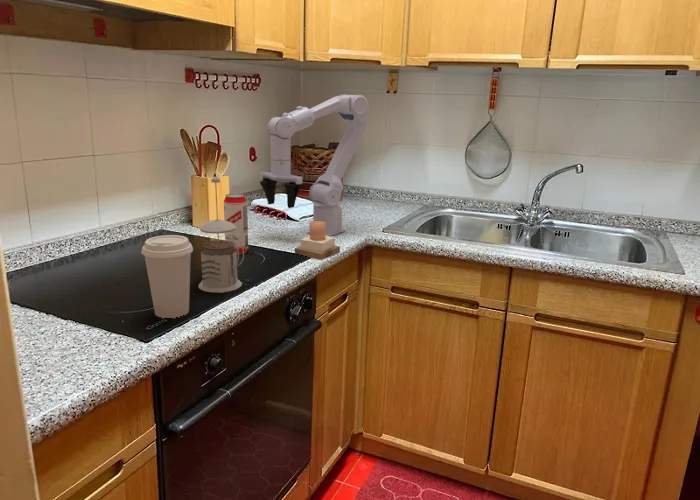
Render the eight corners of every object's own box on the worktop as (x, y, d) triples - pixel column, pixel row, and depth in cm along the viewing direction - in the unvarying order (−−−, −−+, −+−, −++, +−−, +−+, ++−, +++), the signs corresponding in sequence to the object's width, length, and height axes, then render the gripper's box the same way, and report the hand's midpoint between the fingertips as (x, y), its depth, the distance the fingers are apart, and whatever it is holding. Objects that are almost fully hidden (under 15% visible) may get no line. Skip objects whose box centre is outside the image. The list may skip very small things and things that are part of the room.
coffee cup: (136, 316, 105) (129, 242, 101) (170, 300, 114) (165, 231, 109) (174, 325, 102) (168, 250, 97) (206, 308, 110) (202, 237, 106)
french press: (219, 275, 130) (215, 172, 123) (256, 284, 124) (254, 177, 117) (188, 286, 122) (182, 177, 114) (227, 297, 116) (222, 182, 109)
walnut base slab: (313, 249, 156) (313, 241, 155) (339, 255, 151) (339, 246, 150) (294, 256, 148) (294, 248, 148) (321, 262, 144) (321, 254, 143)
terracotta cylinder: (315, 235, 151) (315, 220, 150) (328, 237, 149) (328, 222, 148) (306, 239, 148) (306, 223, 146) (319, 241, 146) (319, 225, 144)
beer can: (243, 256, 145) (241, 198, 140) (221, 254, 146) (219, 196, 141) (252, 250, 150) (250, 193, 146) (231, 248, 152) (229, 192, 147)
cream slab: (313, 242, 154) (313, 233, 153) (334, 245, 151) (334, 237, 150) (300, 248, 148) (300, 239, 147) (322, 252, 145) (323, 243, 144)
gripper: (252, 158, 156) (253, 204, 160) (291, 163, 148) (291, 211, 152) (268, 156, 162) (269, 200, 165) (307, 161, 154) (306, 207, 158)
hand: (280, 205), depth 159 cm, fingers open, 7 cm apart
